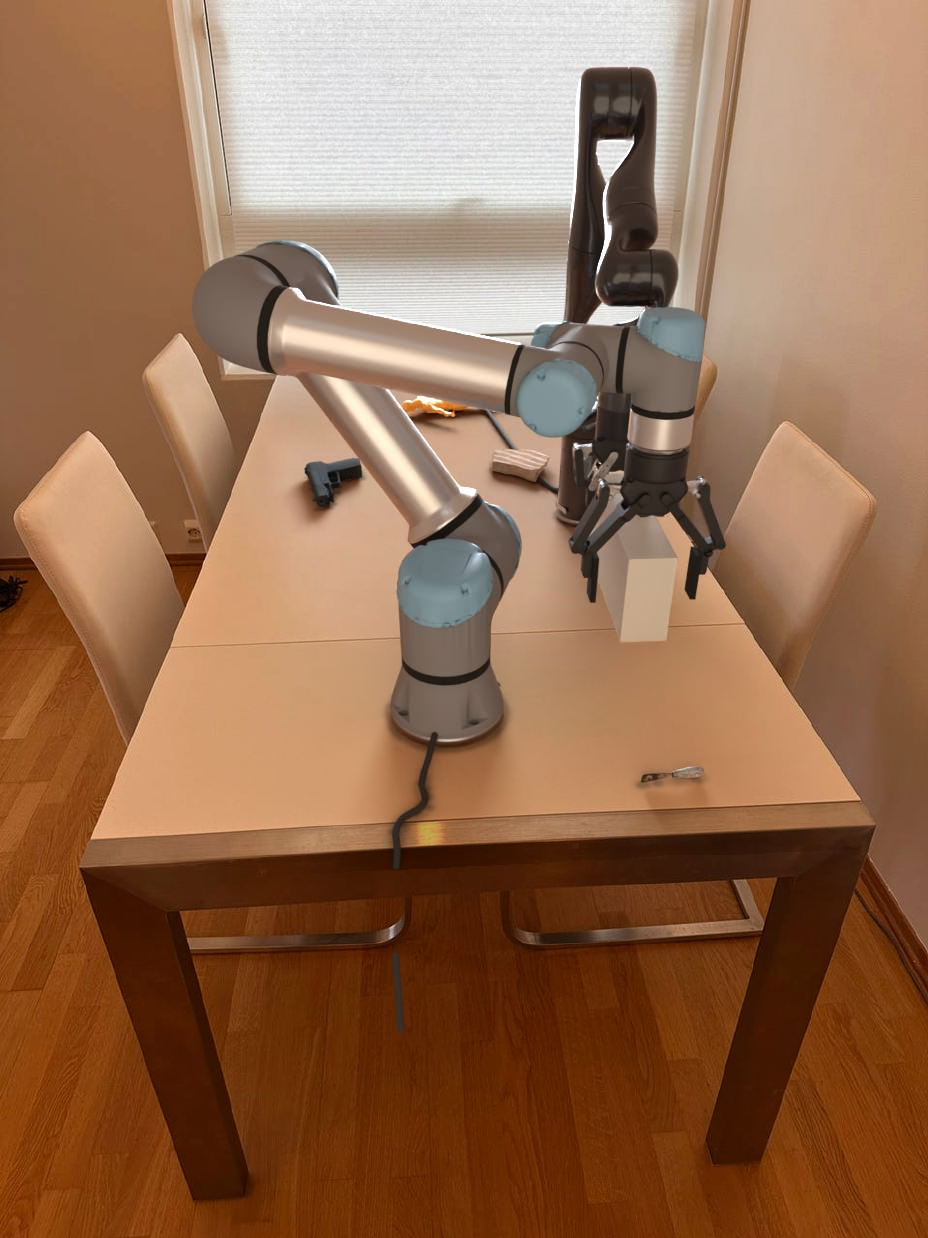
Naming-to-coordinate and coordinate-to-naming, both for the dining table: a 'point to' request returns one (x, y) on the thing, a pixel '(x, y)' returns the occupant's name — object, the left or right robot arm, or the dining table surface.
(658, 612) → the box
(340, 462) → the handgun
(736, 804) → the dining table surface
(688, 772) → the putty knife
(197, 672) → the dining table surface
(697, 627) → the dining table surface
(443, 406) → the human figure
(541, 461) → the stone
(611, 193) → the right robot arm
